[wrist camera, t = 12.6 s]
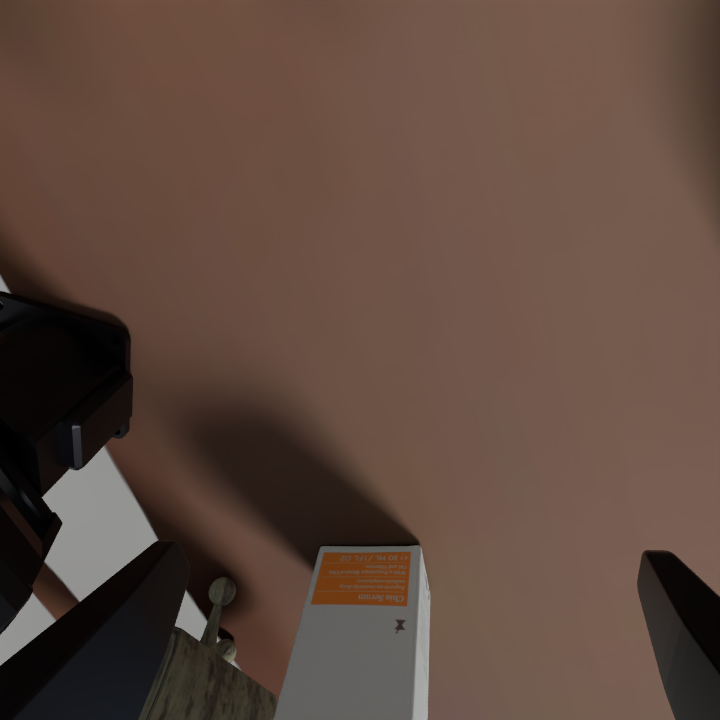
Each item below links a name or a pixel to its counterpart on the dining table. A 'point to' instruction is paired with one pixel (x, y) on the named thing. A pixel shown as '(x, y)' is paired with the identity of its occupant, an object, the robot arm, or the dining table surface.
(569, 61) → the dining table surface
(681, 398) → the dining table surface
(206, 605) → the dining table surface
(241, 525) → the dining table surface
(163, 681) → the tabletop clock
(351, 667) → the skincare box
